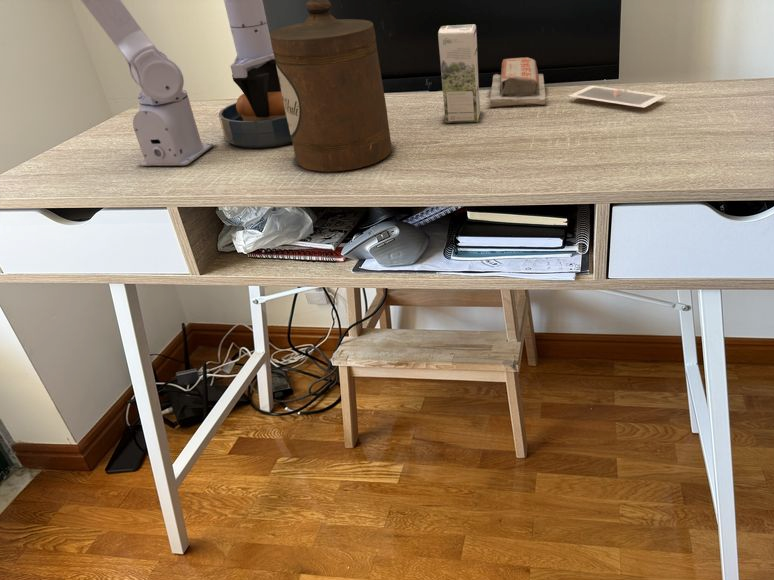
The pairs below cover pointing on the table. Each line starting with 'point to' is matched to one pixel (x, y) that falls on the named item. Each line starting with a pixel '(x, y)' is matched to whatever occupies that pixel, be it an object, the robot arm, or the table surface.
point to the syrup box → (459, 73)
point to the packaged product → (518, 84)
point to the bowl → (253, 130)
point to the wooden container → (332, 91)
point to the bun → (274, 107)
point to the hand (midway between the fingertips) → (268, 112)
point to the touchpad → (618, 96)
